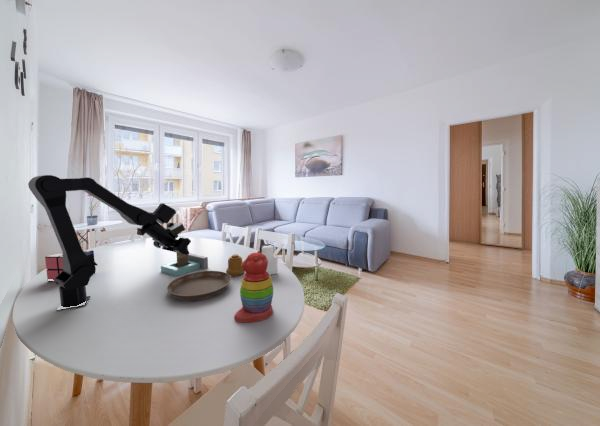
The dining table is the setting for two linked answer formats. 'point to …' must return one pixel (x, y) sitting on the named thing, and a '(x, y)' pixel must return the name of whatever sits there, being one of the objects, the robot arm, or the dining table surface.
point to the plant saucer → (199, 285)
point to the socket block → (180, 268)
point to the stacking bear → (255, 290)
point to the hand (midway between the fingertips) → (185, 253)
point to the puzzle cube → (56, 264)
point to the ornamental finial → (235, 266)
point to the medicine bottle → (269, 258)
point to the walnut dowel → (182, 259)
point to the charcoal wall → (199, 260)
